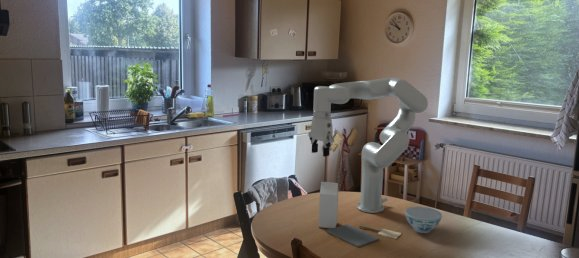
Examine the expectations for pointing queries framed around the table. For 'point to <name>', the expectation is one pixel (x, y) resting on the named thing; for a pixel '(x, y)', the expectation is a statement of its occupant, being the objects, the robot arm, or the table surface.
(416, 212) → the chinaware
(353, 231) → the mat
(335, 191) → the milk carton
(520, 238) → the table surface
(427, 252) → the table surface
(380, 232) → the turner
